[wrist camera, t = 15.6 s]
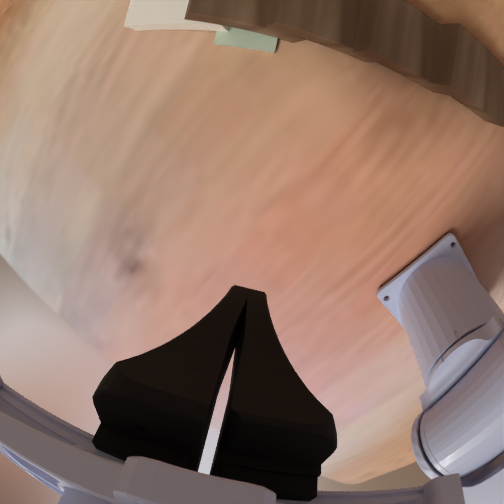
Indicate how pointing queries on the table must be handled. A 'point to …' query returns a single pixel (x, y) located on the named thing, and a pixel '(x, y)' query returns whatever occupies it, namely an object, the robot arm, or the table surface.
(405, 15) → the domino
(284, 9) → the domino
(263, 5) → the domino
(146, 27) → the domino
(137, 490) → the robot arm
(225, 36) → the pad
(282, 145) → the table surface
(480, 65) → the domino
